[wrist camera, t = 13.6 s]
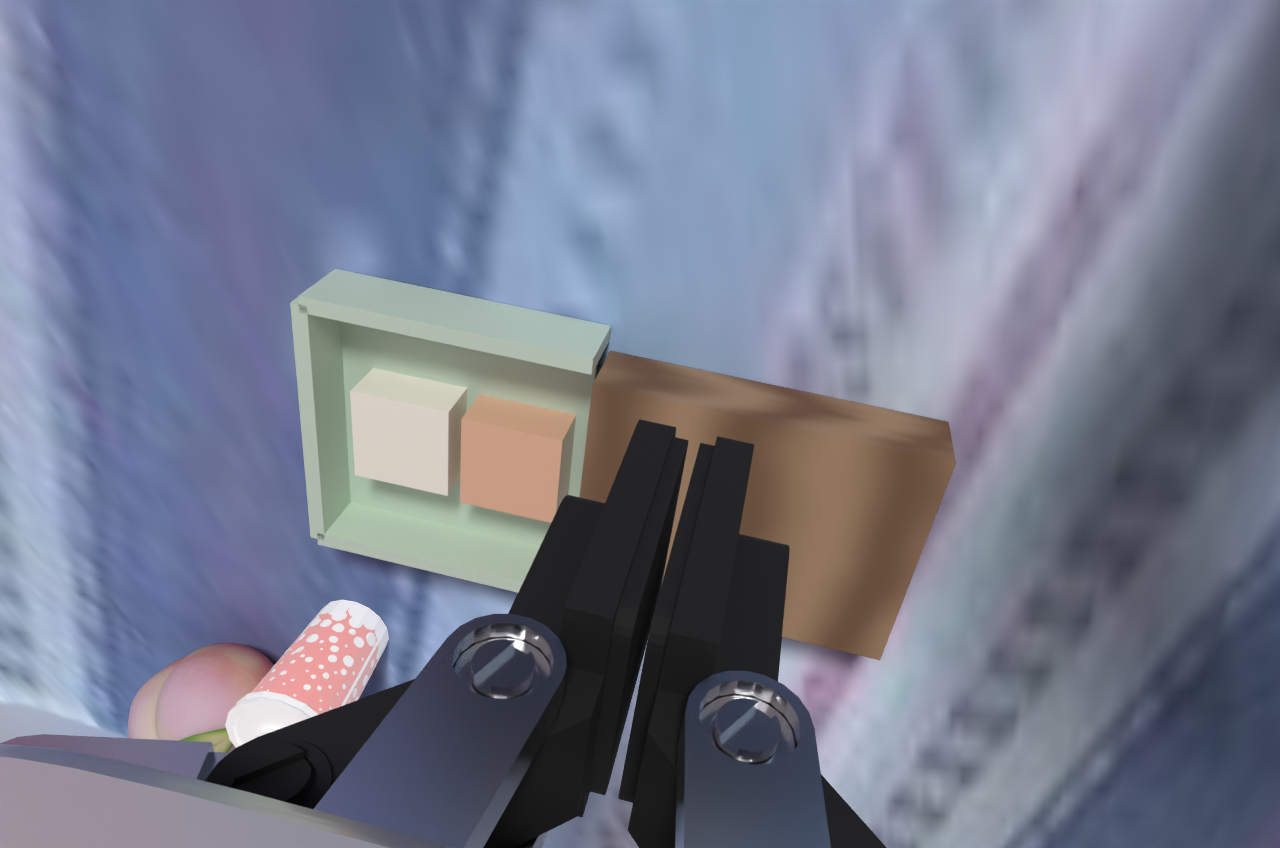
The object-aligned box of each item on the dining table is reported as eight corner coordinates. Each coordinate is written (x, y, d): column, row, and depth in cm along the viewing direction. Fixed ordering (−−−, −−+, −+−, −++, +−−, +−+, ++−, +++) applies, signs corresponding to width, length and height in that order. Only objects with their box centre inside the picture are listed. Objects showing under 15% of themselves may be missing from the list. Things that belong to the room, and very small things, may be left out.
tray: (610, 325, 42) (593, 358, 39) (582, 561, 50) (565, 604, 47) (327, 267, 43) (289, 294, 40) (342, 505, 51) (311, 542, 48)
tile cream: (349, 391, 43) (373, 367, 45) (354, 475, 46) (376, 449, 48) (448, 412, 43) (467, 387, 45) (447, 495, 45) (465, 469, 47)
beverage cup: (294, 590, 56) (145, 778, 44) (382, 589, 54) (251, 784, 42) (328, 663, 59) (196, 857, 47) (412, 664, 57) (298, 866, 45)
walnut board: (948, 422, 41) (955, 463, 38) (878, 612, 47) (879, 660, 44) (610, 350, 43) (592, 385, 40) (586, 544, 49) (569, 586, 46)
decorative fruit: (259, 716, 63) (168, 844, 55) (173, 637, 60) (63, 758, 52) (346, 677, 59) (262, 808, 50) (258, 590, 56) (154, 713, 48)
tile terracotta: (576, 414, 44) (562, 440, 42) (568, 495, 47) (554, 523, 45) (479, 394, 45) (461, 419, 43) (477, 475, 47) (459, 502, 45)
